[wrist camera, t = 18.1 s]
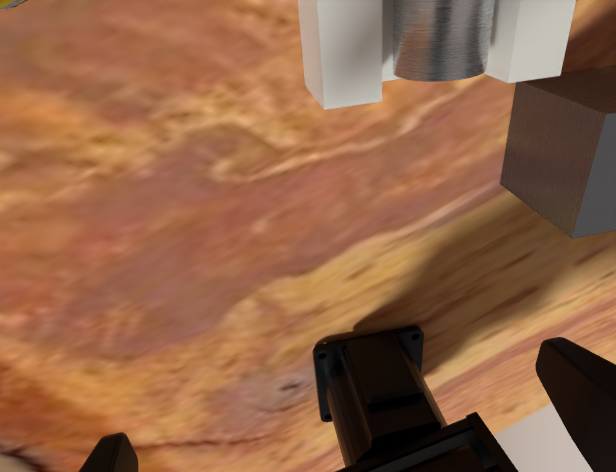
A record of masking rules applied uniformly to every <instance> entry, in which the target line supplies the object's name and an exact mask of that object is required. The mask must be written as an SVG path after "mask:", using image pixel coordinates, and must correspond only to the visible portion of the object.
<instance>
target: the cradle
mask: <svg viewBox="0 0 616 472" xmlns="http://www.w3.org/2000/svg"><path fill="white" fill-rule="evenodd" d="M575 3H576V0H495V3H494V11H493V20H492V28H491V37H490V45H489V54H488V62H487V69H486V71H485V72H484V74H487V75H489V76H492V77H494V78H496V79H499V80H501V81H504V82H506V83H513V82H520V81H527V80H534V79H541V78H547V77H554V76H560V75H561V70H562V65H563V60H564V56H565V51H566V46H567V41H568V36H569V32H570V27H571V22H572V17H573V13H574V8H575ZM298 10H299V22H300V33H301V44H302V56H303V67H304V79H305V86H306V87H307V88H308V90H309V91H310V92H311V93H312V95H313V96H314V97H315V99H316V100H317V101H318V102H319V104H320V105H321V106H322V107H323V109H324V110H326V109H333V108H340V107H347V106H354V105H361V104H368V103H375V102H381V101H382V81H389V80H396V79H402V78H399V77H397V76H395V75H394V74H393V0H298Z"/></svg>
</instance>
